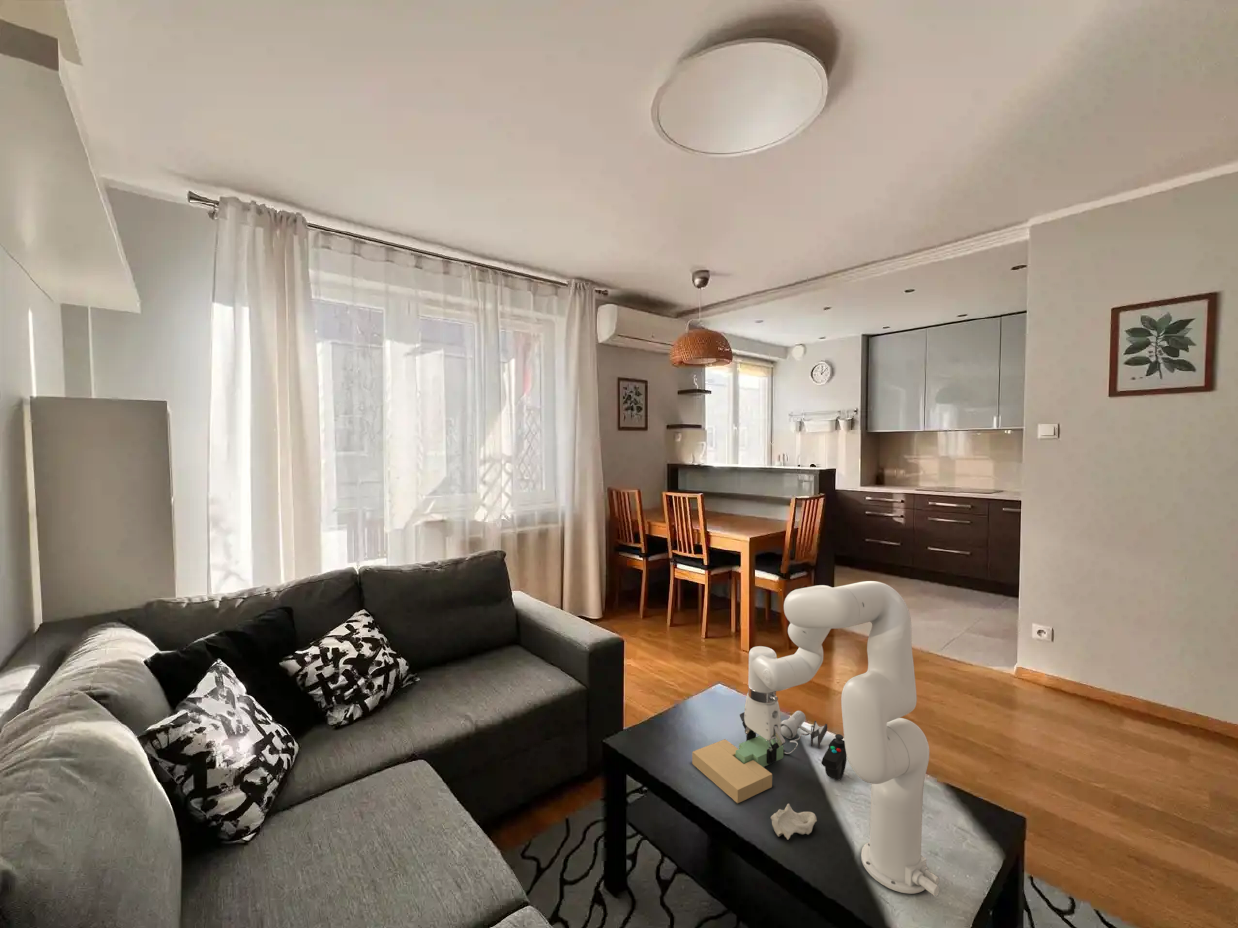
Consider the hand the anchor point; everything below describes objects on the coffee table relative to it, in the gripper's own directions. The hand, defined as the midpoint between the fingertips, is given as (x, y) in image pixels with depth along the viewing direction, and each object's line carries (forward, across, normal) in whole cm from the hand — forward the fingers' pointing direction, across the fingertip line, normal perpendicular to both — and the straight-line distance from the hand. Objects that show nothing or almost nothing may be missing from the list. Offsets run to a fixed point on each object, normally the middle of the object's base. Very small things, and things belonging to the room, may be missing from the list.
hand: (761, 754), depth 144 cm
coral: (+2, -22, +12) cm, 25 cm away
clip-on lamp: (+2, +1, -16) cm, 16 cm away
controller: (+2, -15, -12) cm, 19 cm away
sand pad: (+2, 0, +11) cm, 11 cm away
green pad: (+1, 0, +1) cm, 2 cm away
